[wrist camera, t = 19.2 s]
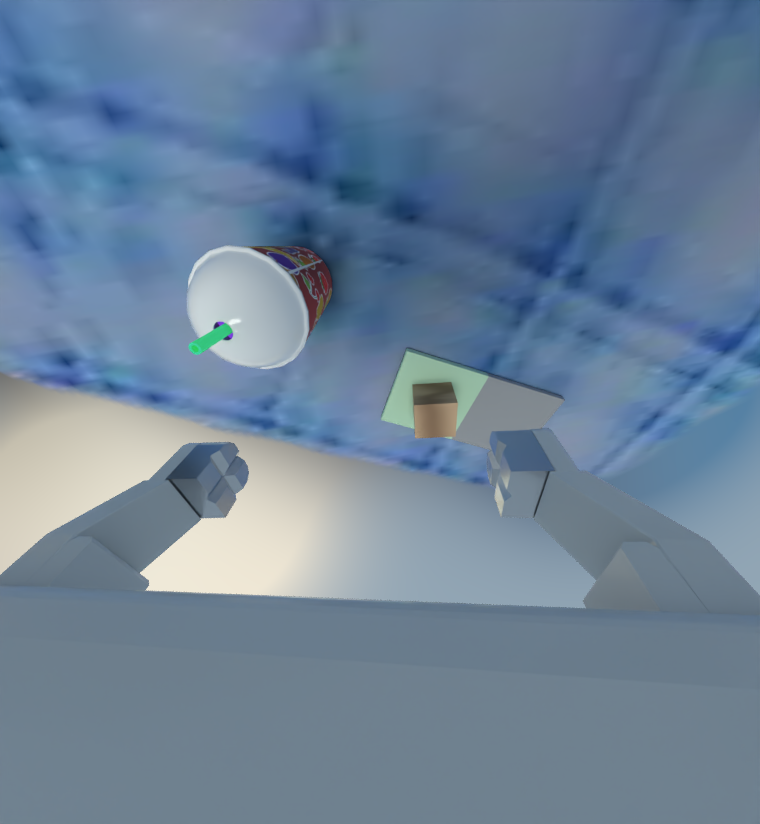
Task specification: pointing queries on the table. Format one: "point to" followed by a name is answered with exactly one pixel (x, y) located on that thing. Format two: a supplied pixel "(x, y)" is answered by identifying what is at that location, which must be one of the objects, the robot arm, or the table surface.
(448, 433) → the walnut block
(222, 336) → the smoothie
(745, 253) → the table surface
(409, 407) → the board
